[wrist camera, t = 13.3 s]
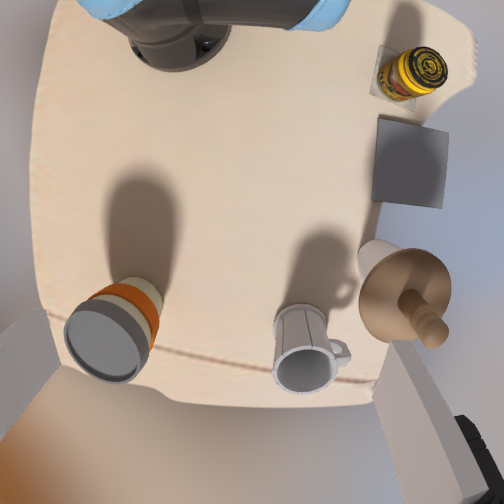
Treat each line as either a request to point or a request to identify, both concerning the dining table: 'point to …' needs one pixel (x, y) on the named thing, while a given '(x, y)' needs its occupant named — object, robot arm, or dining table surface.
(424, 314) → the lid
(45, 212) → the dining table surface
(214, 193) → the dining table surface
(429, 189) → the mat
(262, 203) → the dining table surface
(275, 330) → the cup
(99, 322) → the reusable coffee cup
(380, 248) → the foam cup
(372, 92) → the condiment
